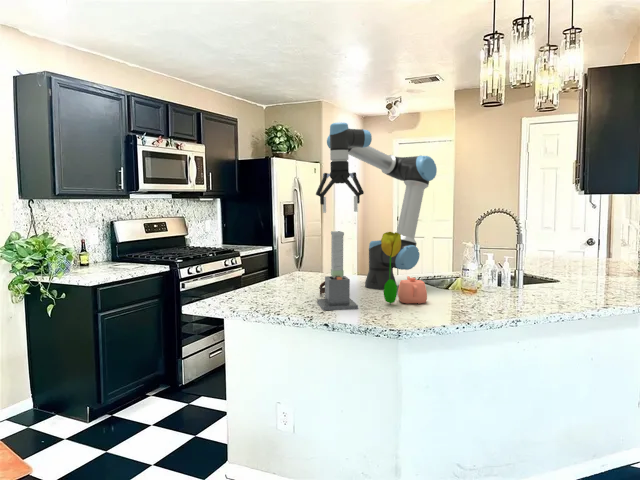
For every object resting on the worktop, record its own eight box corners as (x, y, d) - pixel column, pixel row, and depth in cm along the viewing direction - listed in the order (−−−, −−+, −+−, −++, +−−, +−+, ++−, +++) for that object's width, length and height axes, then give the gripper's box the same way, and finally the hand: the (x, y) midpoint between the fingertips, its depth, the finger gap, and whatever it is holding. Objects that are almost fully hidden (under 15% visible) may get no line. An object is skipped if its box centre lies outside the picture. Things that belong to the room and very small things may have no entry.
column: (340, 280, 198) (340, 231, 196) (343, 283, 193) (344, 232, 191) (330, 281, 198) (330, 231, 196) (333, 283, 192) (333, 232, 190)
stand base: (349, 301, 204) (349, 272, 203) (358, 309, 190) (358, 277, 189) (317, 302, 202) (317, 273, 200) (323, 310, 188) (323, 279, 187)
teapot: (401, 306, 195) (402, 281, 194) (394, 297, 213) (395, 273, 212) (429, 306, 195) (430, 281, 194) (420, 297, 213) (421, 274, 212)
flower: (379, 302, 202) (380, 231, 200) (398, 302, 202) (399, 231, 199) (381, 307, 194) (382, 233, 191) (401, 307, 194) (402, 233, 191)
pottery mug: (343, 298, 212) (335, 283, 209) (324, 307, 213) (316, 292, 211) (343, 286, 223) (335, 272, 220) (325, 295, 225) (316, 280, 222)
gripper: (365, 161, 206) (365, 210, 208) (308, 161, 200) (309, 212, 203) (370, 160, 198) (371, 211, 201) (311, 160, 193) (313, 213, 195)
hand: (340, 212), depth 202 cm, fingers open, 13 cm apart
